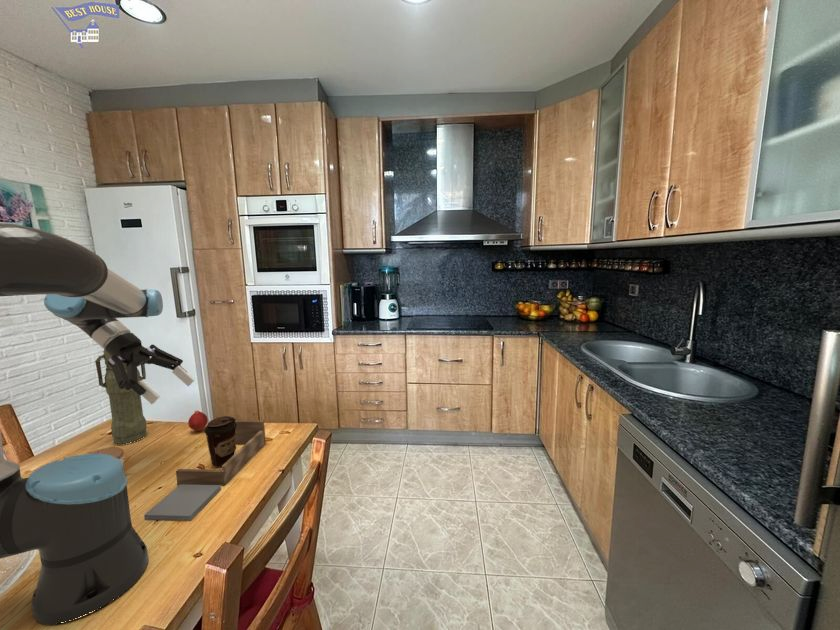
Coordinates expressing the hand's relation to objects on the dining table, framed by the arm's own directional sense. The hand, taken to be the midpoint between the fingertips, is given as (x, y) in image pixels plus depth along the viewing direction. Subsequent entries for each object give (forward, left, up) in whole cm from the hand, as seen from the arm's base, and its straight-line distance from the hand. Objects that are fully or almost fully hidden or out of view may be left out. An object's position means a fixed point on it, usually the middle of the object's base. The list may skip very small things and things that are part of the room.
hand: (174, 391), depth 97 cm
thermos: (+13, +29, -22) cm, 39 cm away
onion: (+19, +9, -22) cm, 31 cm away
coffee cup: (0, -13, -22) cm, 26 cm away
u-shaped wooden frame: (0, -13, -22) cm, 26 cm away
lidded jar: (-11, +15, -22) cm, 29 cm away
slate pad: (-18, -14, -22) cm, 32 cm away
